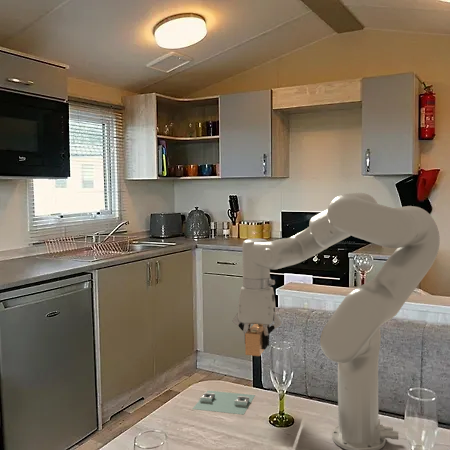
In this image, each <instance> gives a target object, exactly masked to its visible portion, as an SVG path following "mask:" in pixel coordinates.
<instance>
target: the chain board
mask: <svg viewBox="0 0 450 450" xmlns="http://www.w3.org/2000/svg"><path fill="white" fill-rule="evenodd" d="M205 393H215V399H212V403H205V402H200V399H199V400H198V401H197V402H196V404H195V405H194V406H193V408H192V410H199V411H207V412H218V413H226V414H235V415H242V416H243V415H245V413H246V411H247V410H248V408H249V407H250V405H251V403H252V401H253V400H254V398H255V397H256V394H250V393H249V394H248V393H246V394H245V393H236V392H228V391H227V392H225V391H218V390H217V391H215V390H207V391H206V392H205ZM237 396H245V397H249V399H250V402H248V403H247V407H243V406H235V405H234V401H235V400H237Z"/></svg>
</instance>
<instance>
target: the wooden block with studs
mask: <svg viewBox="0 0 450 450" xmlns="http://www.w3.org/2000/svg"><path fill="white" fill-rule="evenodd" d="M263 335H264V330H263V325H260V324H252V326H250V329H249V330H248V331H247V332H246V333H245V334H244V344H245V345H244V348H245V353H244V354H245V356H253V357H261V355H262V354H263V352H264V351H265V350H264V349H263Z"/></svg>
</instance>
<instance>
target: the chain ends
mask: <svg viewBox="0 0 450 450" xmlns="http://www.w3.org/2000/svg"><path fill="white" fill-rule="evenodd" d="M212 399H215V393H206V392H203V394H202V396H199V400H200V402H205V403H212ZM248 402H250V399H249V397H245V396H237V400H235V401H234V405H235V406H243V407H247V403H248Z"/></svg>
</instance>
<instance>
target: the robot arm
mask: <svg viewBox="0 0 450 450" xmlns="http://www.w3.org/2000/svg"><path fill="white" fill-rule="evenodd" d="M308 225H309V226H307V228H305V229H304V230H302V231H300V232H297V233H296V234H295V235H292V236H290V237H287V238H286V237H285V238H282V239H276V240H270V241H269V240H267V239H266V238H258V237H256V238H247V239H245V240H243V242H242V286H241V287H240V290H239V296H238V297H239V298H238V307H237V308H238V310H237V313H236V314H235V315H234V318H233V319H232V322H233V324H235V325H236V326H238V327H239V329H240V330H241V331H242V333H243V334H244V335H245V333H246V332H247V331H248V330H249V329H250V328H251V327H252V326H251V325H254V324H260V325H263V330H264V335H263V349H264V351H265V350H266V349H267V347H269V345H270V334H271V333H272V332H273V331H274V330H276V329H277V328H279V327H281V325H282V323H283V322H282V321H281V320H280V318H279V317H278V315H277V309H276V308H277V307H276V298H275V291H274V287H272V286H274V285H275V284H276V281H275V280H276V279H272V278H271V275H270V274H271V270H278V269H282V268H286V267H291V266H294V265H297V264H300V263H302V262H304V261H306V260H308V259H310V258H312V257H314V256H315V255H316V256H317V255H318V254H320V253H321V252H323V251H324V250H327V249H328V248H329V247H331V246H333V245H336V244H338V243H339V242H341V241H343V240H345V239H347V238H349V237H351V236H352V237H354V238H357V239H360V240H364V241H366V242H369V243H371V244H375V245H378V246H380V247H384V248H388V249H395V250H394V252H393V253H392V254H391V255H390V256H389V257H388V258H387V260H386V261H385V262H384V264H383V265H382V267H381V268H380V269H379V271H378V272H377V273H376V274H375V276H374V277H373V278H372V279H371V280H370V281H367V282H366V283H364V284H361V285H359V286H357V287H355V288H353V289H352V290H351V291H350V292H348V294H346V296H345V297H344V299H343V300H342V301H341V303H340V304H339V305H338V307H337V308H336V310H335V311H334V313H333V314H332V315H331V316H330V318H329V319H328V321H327V322H326V323H325V325H324V327H323V328H322V330H321V334H320V339H319V343H320V348H321V350H322V352H323V354H324V355H325V356H326V358H328V360H330V361H332V362H334V363H337V412H338V413H337V414H338V415H337V416H338V417H337V418H338V419H337V420H338V425H337V427H335V428H334V429H333V430H332V431H331V437H332V441H333V442H334V443H335V445H336V446H338V447H340V448H342V449H344V450H381V449H382V448H383V447H384V446H385V445H386V439H390V440H391V439H392V440H399V430H394V427H393V426H389V425H388V426H384V425H383V424H381V419H380V418H379V358H380V357H379V356H380V348H381V343H382V341H381V340H382V334H381V333H382V332H381V326H382V325H384V324H386V323H387V322H389V321H390V320H392V319H393V318H394V317H395V316H396V315H398V313H399V312H400V310H401V309H402V307H403V306H404V304H405V303H406V302H407V301H408V299H410V297H411V295H412V294H413V293H414V291H415V290H416V289H417V287H418V286H419V284H420V283H421V282H422V280H423V279H424V278H425V276H426V275H427V273H428V272H429V271H430V269H431V268H432V266H433V264H434V263H435V260H436V259H437V257H438V256H437V255H438V253H439V248H440V241H441V239H440V232H439V229H438V226H437V223H436V220H434V218H433V216H432V215H431V214H430V213H429V212H428V211H427V210H425V209H424V208H421V207H420V206H414V205H413V206H412V205H407V206H405V205H404V206H399V207H391V206H387V205H383V204H380V203H378V202H377V200H376V199H375V198H374V197H373V196H372V195H370V194H369V193H366V192H351V193H343V194H340V195H337V196H336V197H334V198H333V199H332V201H331V202H330V203H329V204H328V207H327V208H326V209H325V210H323V211H321V212H319V213H316V214H315V215H313V216H312V217H311V218H310V219H309V224H308ZM273 322H274V323H273Z"/></svg>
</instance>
